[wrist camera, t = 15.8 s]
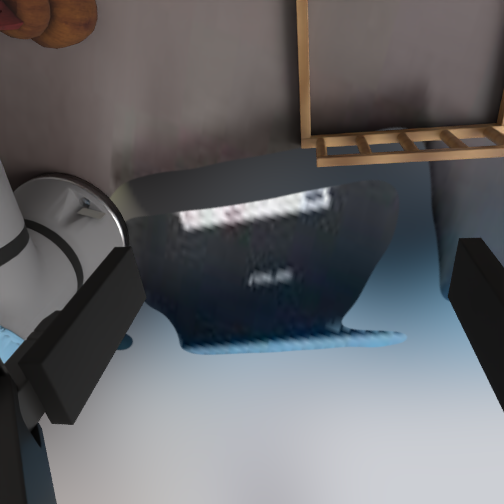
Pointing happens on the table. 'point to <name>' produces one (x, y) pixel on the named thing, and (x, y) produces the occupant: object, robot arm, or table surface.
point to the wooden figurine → (48, 20)
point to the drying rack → (496, 132)
